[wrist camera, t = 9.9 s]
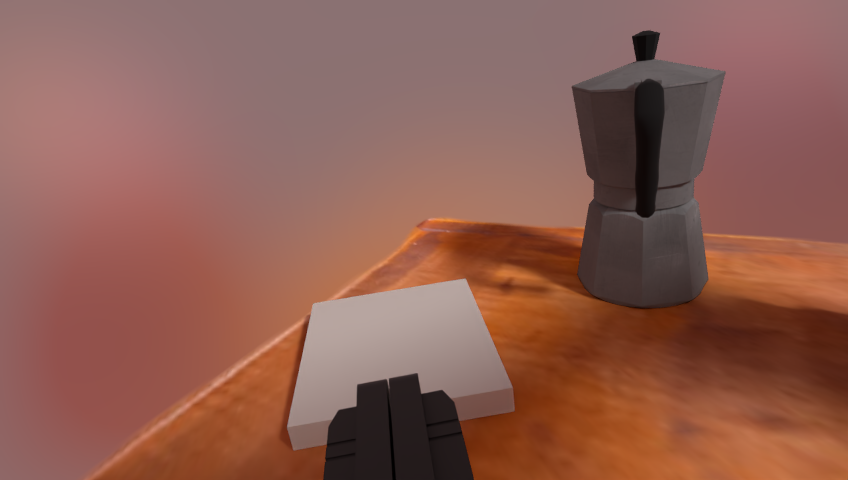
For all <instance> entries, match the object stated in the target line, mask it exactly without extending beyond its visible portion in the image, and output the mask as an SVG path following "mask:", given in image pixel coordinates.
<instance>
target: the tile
mask: <svg viewBox="0 0 848 480" xmlns="http://www.w3.org/2000/svg"><path fill="white" fill-rule="evenodd" d="M414 373H418V378H419V383H420V389H421V394H423V393H428V392H433V391H439V390H443V391H444V392H445V393H446V394H447V395H448V396H449V397H450V398H451V399H452V400H453V401H454V402H455V406H456V410H457V414H458V418H459V421H463V420H469V419H474V418H480V417H485V416H491V415H497V414H502V413H508V412H514V411H515V407H514V394H513V387H512V384H511V382H510V380H509V377H508V375H507V373H506V370H505V368H504V366H503V364H502V361H501V359H500V357H499V354H498V352H497V350H496V347H495V345H494V343H493V341H492V338H491V336H490V334H489V331H488V329H487V327H486V324H485V322H484V320H483V318H482V315H481V313H480V311H479V308H478V306H477V304H476V301H475V299H474V297H473V294H472V292H471V290H470V288H469V285H468V283H467V281H466V278H465V279H459V280H453V281H447V282H441V283H435V284H429V285H423V286H417V287H410V288H404V289H398V290H392V291H386V292H380V293H374V294H368V295H362V296H355V297H349V298H343V299H337V300H331V301H325V302H319V303H314V304H313V307H312V312H311V316H310V321H309V326H308V330H307V335H306V340H305V344H304V349H303V354H302V359H301V363H300V368H299V373H298V377H297V382H296V387H295V391H294V396H293V401H292V406H291V410H290V415H289V420H288V424H287V430H288V433H289V437H290V440H291V444H292V447H293V451H294V450H300V449H305V448H311V447H316V446H322V445H327V436H328V426H329V425H330V423H331V421H332V420H333V418H334V416H335V415H336V413H337V411H338V410H340V409H345V408H351V407H356V403H357V384H362V383H368V382H373V381H378V380H383V379H387V381H388V385H389V378H393V377H398V376H404V375H409V374H414Z"/></svg>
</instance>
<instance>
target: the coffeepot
mask: <svg viewBox="0 0 848 480" xmlns="http://www.w3.org/2000/svg"><path fill="white" fill-rule="evenodd" d="M659 35H660V33H658V32H653V31H642V32H640V33H638V34H636V35H635V36H632V39H633V44H634V50H635V55H636V62H633V63H631V64H628V65H625V66H623V67H620V68H617V69H615V70H612V71H610V72H607V73H605V74H602V75H599V76H597V77H594V78H592V79H589V80H586V81H584V82H581V83H579V84H576V85H573V86H572V90H573V96H574V102H575V107H576V113H577V118H578V125H579V130H580V136H581V142H582V147H583V154H584V160H585V165H586V171H587V175H588V176H589V177H590V178H591V179H592V180H594V199H593V200H592V201H591V203H590V204H589V208H588V215H587V220H586V226H585V232H584V237H583V243H582V249H581V255H580V261H579V267H578V273H577V275H578V277H579V279H580V280H581V282H582V284H583V286H584V287H585V289H586V290H587V291H588V292H589V293H591V294H592V295H594V296H595V297H597V298H600V299H602V300H604V301H607V302H610V303H614V304H617V305H623V306H628V307H638V308H660V307H669V306H675V305H679V304H682V303H685V302H688V301H691V300H693V299H694V298H696V297H697V296H698V295H699V294H700V293H701V291H702V289H703V287H704V285H705V283H706V282H707V281H708V272H707V264H706V257H705V249H704V241H703V234H702V227H701V219H700V212H699V204H698V202H697V201H696V200H695V199H694V178H696V177H697V176H698V175H699V174H700V173H701V171H702V170H703V166H704V161H705V157H706V153H707V148H708V144H709V140H710V136H711V131H712V127H713V123H714V118H715V114H716V110H717V106H718V101H719V97H720V93H721V88H722V84H723V80H724V76H725V75H724V74H725V71H720V70H714V69H707V68H702V67H696V66H691V65H684V64H679V63H673V62H667V61H662V60H656V59H654V57H655V53H656V49H657V44H658V40H659Z"/></svg>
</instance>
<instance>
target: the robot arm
mask: <svg viewBox="0 0 848 480" xmlns="http://www.w3.org/2000/svg"><path fill="white" fill-rule="evenodd" d="M325 459H326V462H325V468H324V479H323V480H474V478H473V474H472V470H471V466H470V462H469V458H468V454H467V450H466V446H465V442H464V438H463V435H462V430H461V426H460V422H459V418H458V414H457V410H456V406H455V402H454V401H453V400H452V399H451V398H450V397H449V396H448V395H447V394H446V393H445V392H444V391H443V390H439V391H433V392H428V393H423V394H421V389H420V383H419V378H418V373H414V374H409V375H404V376H398V377H393V378H389V385H388V381H387V379H383V380H378V381H373V382H368V383H362V384H357V403H356V407H351V408H345V409H340V410H338V411H337V413H336V415H335V416H334V418H333V420H332V421H331V423H330V425H329V426H328V436H327V448H326V457H325Z"/></svg>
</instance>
